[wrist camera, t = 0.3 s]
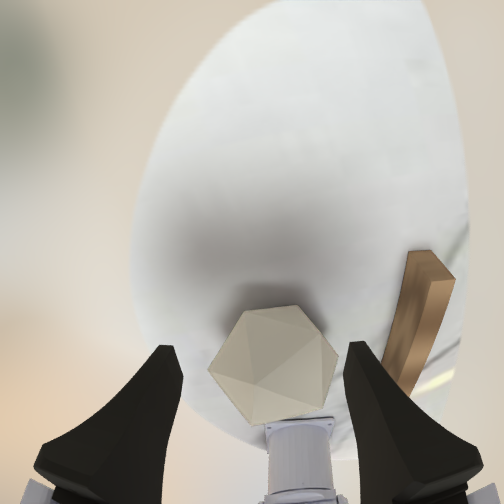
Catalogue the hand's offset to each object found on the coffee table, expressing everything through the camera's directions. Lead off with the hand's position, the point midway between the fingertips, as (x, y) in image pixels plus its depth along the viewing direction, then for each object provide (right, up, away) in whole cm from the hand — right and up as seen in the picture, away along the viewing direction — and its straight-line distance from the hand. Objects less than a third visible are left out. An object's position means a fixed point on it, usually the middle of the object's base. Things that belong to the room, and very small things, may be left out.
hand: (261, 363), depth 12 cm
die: (+2, -2, +12) cm, 12 cm away
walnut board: (+13, -4, +13) cm, 19 cm away
